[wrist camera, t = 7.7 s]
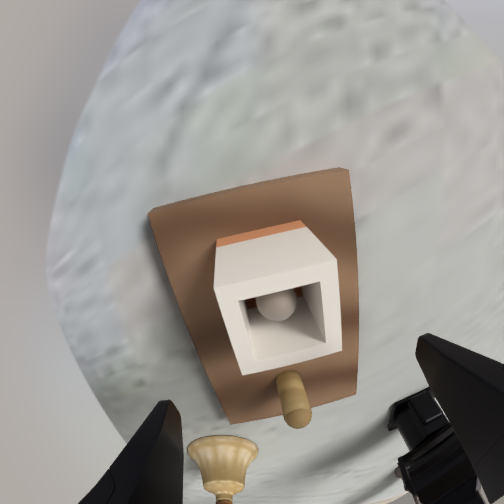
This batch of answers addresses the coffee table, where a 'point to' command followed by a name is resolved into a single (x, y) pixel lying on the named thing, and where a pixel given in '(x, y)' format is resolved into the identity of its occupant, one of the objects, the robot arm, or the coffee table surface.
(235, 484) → the hand bell
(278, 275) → the sleeve
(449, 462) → the robot arm
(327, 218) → the pin board
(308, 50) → the coffee table surface
